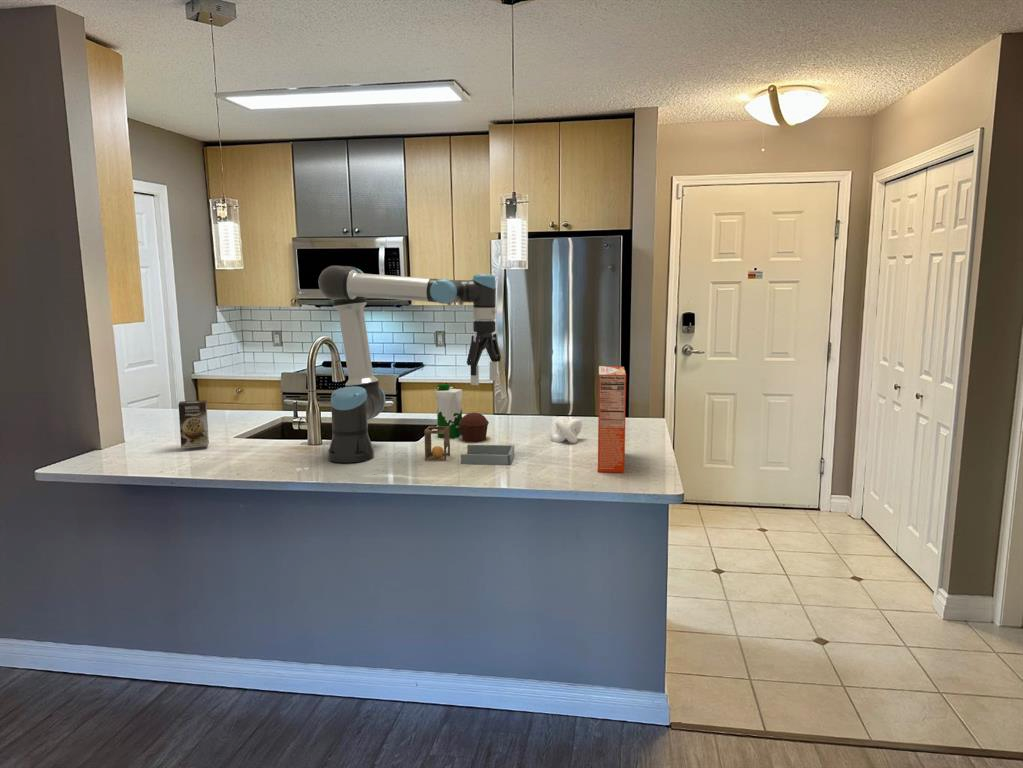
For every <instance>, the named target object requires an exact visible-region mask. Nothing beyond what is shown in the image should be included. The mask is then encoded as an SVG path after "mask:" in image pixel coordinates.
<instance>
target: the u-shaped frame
mask: <svg viewBox="0 0 1023 768" xmlns="http://www.w3.org/2000/svg"><path fill="white" fill-rule="evenodd" d="M466 446H467V449H466V450H467V453H461V454H460V465H461V464H462V465H495V466H496V465H502V466H503V465H506V466H507V465H508V466H510V465H511V464H512V461H513V459H514V456H515V445H514V444H511V445H509V444H505V445H504V444H467V445H466Z"/></svg>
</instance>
